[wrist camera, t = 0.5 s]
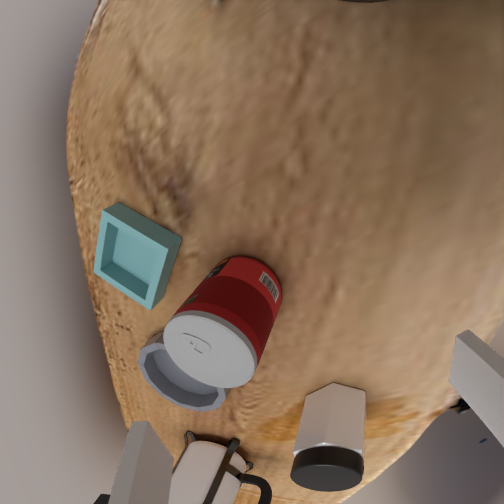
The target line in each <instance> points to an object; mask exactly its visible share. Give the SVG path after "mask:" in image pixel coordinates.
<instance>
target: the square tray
mask: <svg viewBox="0 0 504 504" xmlns="http://www.w3.org/2000/svg"><path fill="white" fill-rule="evenodd" d="M181 241H182V238H181V237H179V236H178V235H176V234H174V233H172V232H170V231H169V230H167V229H165V228H163V227H162V226H160V225H158V224H156V223H155V222H153V221H151V220H149V219H147V218H146V217H144V216H142V215H140V214H139V213H137V212H135V211H134V210H132V209H130V208H128V207H127V206H125V205H123V204H121V203H120V202H119V203H116V204H114V205H112V206H110V207H108V208H106V209H103V210H102V216H101V222H100V228H99V234H98V241H97V248H96V256H95V265H94V273H95V274H97V275H98V276H100V277H101V278H102V279H104V280H105V281H107V282H108V283H110V284H111V285H113V286H114V287H115V288H117V289H118V290H120V291H121V292H123V293H124V294H126V295H127V296H129V297H130V298H132V299H133V300H135V301H137V302H138V303H140V304H141V305H143V306H144V307H146V308H147V309H149V310H152V309H153V308H154V306H155V305H156V304H157V303H158V302H159V301H160V300H161V299H162V298H163V296H164V293H165V290H166V287H167V283H168V280H169V277H170V274H171V271H172V268H173V265H174V262H175V258H176V255H177V252H178V249H179V246H180V244H181Z"/></svg>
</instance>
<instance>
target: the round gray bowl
mask: <svg viewBox="0 0 504 504" xmlns="http://www.w3.org/2000/svg"><path fill="white" fill-rule="evenodd" d="M163 333H164V331H162V332H159V333H157V334H156V335H155V336H153V337H151V338H150V339H149V340H148V341H147V342H146V344H145V345H144V346H143V347H142V348H141V350H140V355H139V359H138V364H139V367H140V369H141V371H142V374H143V376H144V378H145V379H146V381H147V382H148V383H149V384H150V385H151V386H152V387H153V388H154V389H155V390H156V391H157V392H158V393H159V394H160V395H161V396H163V397H164V398H166V399H168V400H169V401H171V402H173V403H174V404H176V405H178V406H181V407H183V408H187V409H191V410H195V411H199V412H200V411H201V412H203V411H209V410H215V409H218V408H219V407H220V405H221V404H222V403H223V401H224V400H225V399H226V397H227V395H228V393H229V390H230V388H220V387H214V386H210V385H207V384H204V383H202V382H200V381H198V380H196V379H194V378H192V377H191V376H189V375H188V374H186V373H185V372H184V371H183V370H181V369H180V368H179V367H178V366H177V365H176V364H175V362H174V361H173V360H172V359H171V357H170V356H169V354H168V352H167V350H166V348H165V345H164V340H163Z"/></svg>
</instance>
